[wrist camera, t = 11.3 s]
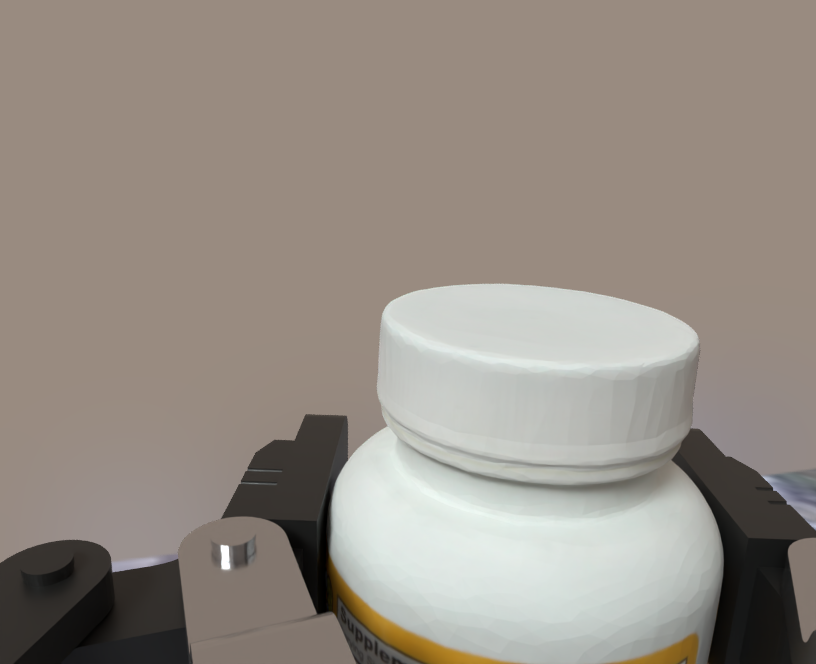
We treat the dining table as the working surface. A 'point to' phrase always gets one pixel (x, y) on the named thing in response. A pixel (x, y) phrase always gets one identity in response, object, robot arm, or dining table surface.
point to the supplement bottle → (526, 487)
